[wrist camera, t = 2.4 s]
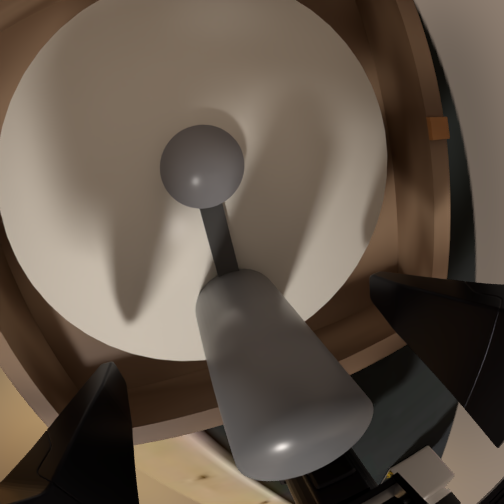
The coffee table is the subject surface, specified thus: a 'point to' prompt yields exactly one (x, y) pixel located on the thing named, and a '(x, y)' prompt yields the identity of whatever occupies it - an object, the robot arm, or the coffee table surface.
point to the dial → (204, 203)
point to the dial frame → (327, 317)
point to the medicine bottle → (426, 476)
